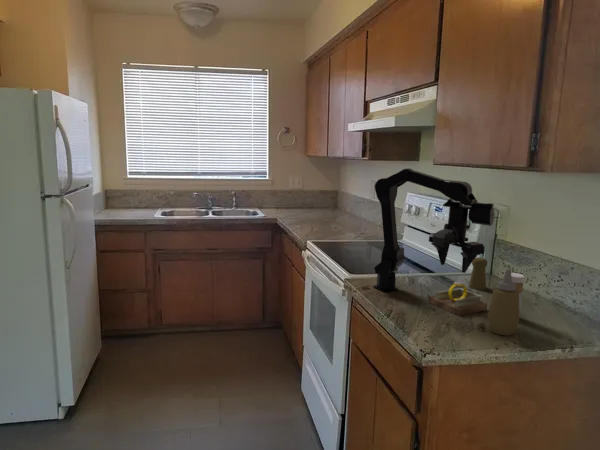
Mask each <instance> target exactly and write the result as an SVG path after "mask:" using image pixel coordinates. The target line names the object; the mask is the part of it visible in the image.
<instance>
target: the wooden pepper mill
mask: <svg viewBox="0 0 600 450" xmlns="http://www.w3.org/2000/svg"><path fill="white" fill-rule="evenodd" d="M471 265H472V271H471V275H470V279H469V282H468V288H470V289H471V290H472V289H473V290H476V291H477V290H478V291H484V290H486V289H487V276H486V274H487V273H486V267H487V266H488V260H487V258H484V257H476V258H475V259H474V260H473V261H472V263H471Z"/></svg>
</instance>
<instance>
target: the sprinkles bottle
mask: <svg viewBox="0 0 600 450" xmlns="http://www.w3.org/2000/svg"><path fill="white" fill-rule="evenodd" d="M511 276H512V282H514V283H516V291H517V292H518V293H519V319H520V318H521V317H520V315H521V314H520V313H521V308H522V301H523V300H522V299H523V290H524V289H523V288H524V282H525V275H524V274H521V273H518V272H517V273H515V272H511Z"/></svg>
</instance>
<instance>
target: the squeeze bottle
mask: <svg viewBox="0 0 600 450" xmlns="http://www.w3.org/2000/svg"><path fill="white" fill-rule="evenodd" d="M511 273H512V270H511V269H508V268H507V269H505V270H504V274H503V277H502V279H501V280H498V281H497V286H496V287H495V288H493V290H492V295H491V299H490V300H491V301H490V304H489V309H488V314H487V321H488V325H489V330H490V331H491V332H492V333H494V334H497V335H501V336H506V337H507V336H512V335H514V333H515V331H516V330H517V327H518V326H519V324H520V318H519V316H520V314H519V293H518V292H517V291H516V283H514V282H512V276H511Z"/></svg>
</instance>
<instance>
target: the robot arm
mask: <svg viewBox="0 0 600 450" xmlns="http://www.w3.org/2000/svg"><path fill="white" fill-rule="evenodd" d="M407 182H409V183H412V184H416V185H419V186H422V187H425V188H428V189H431V190H435V191H437V192H439V193H440V194H442V195H444V196H445V197H447V198H448V199H447V200H446V202H444V203H443V204H442V206H443V207H446V208H447V207H449V208H448V209H449V210H448V220H447V223H444V226H443V229H440V230H438V231H436V232H433V233H430V235H429V236H428V242H429V243H430V244H431V245H432V246H433V247H434V248H435V249H436V251H437V255H438V258H439V262H440V265H441V266H444V265H445V263H446V261H447V257H448V252H449V248H450V245H451V246H453V247H454V246H455V247H458V248H461V252H460V255H461V257H462V260H461V261H462V263H461V272H462V273H466V272H467V271H468V269H469V267H470V266H471V265H472V261H473V260H474V259H475V258H477V256H480V255H481V254H484V253H485V247H486V246H485V245H484V244H483V243H482V242H481V243H480V242H477V241H469V237H467V236H466V235H467V230H469V229H470V224H468V220H469V222H471V224H476V225H481V226H482V225H483V226H490V227H491V226H493V224H494V220H495V208H494V203H493V202H488V203H484V202H479V201H478V200H477V198H476V197H475V195H474V193H473V188H472V185H471V184H470V183H469V182H467V181H462V180H461V181H459V180H453V179H452V180H451V179H444V178H440V177H438V176H437V177H436V176H433V175H430V174H427V173H424V172H420V171H417V170H414V169H412V168H402V169H401V170H400V171H398V172H396V173H394V174H392V175H390V176H388V177H383V178H379V179H378V180H377V181H376V182H375V183H374V191H375V194H376V199H377V200H378V201H379V204H380V209H381V220H382V221H381V222H382V223H381V224H382V234H383V244H384V245H383V248H382V251H381V255H380V256H381V257H380V263H378V264H377V265H375V266H374V267H373V269H374V272H375V274H377V275H376V284H373V288H375V289H377V290H378V291H381V292H383V293H385V292H392V291H398V290H399V288H398V287H397V286H396V280H397V278H396V273H395V272H396V271H398V269H399V268H400V267H401V266H402V265H403V264H404V260H406V257H405V248H404V247H400V245H399V242H398V231H397V218H396V207H395V206H396V205H395V203H396V198H397V196H398V188H399V187H401V186H403V185H405V184H406V183H407Z"/></svg>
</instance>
